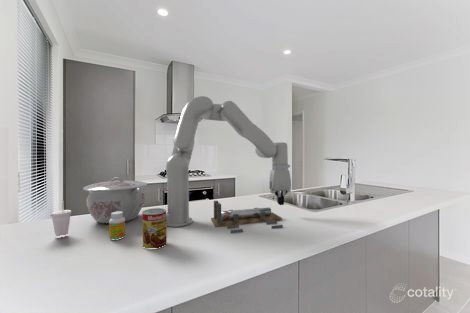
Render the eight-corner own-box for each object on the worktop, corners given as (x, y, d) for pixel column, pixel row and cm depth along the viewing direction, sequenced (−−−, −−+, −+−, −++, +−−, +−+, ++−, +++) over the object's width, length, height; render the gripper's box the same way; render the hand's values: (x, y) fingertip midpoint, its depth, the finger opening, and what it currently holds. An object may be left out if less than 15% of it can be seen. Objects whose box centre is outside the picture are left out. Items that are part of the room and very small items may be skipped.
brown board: (215, 227, 97) (215, 205, 97) (211, 220, 107) (211, 200, 106) (282, 220, 106) (282, 200, 106) (272, 214, 116) (272, 196, 116)
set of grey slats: (231, 233, 90) (231, 230, 90) (227, 228, 95) (227, 226, 95) (282, 227, 96) (282, 225, 96) (276, 223, 102) (276, 221, 102)
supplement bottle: (109, 242, 82) (108, 215, 81) (109, 237, 86) (109, 211, 86) (125, 239, 84) (125, 213, 84) (125, 234, 89) (124, 210, 89)
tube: (222, 220, 101) (222, 211, 101) (220, 219, 105) (220, 210, 105) (271, 216, 108) (271, 207, 108) (268, 215, 111) (267, 207, 112)
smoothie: (75, 234, 89) (75, 199, 89) (58, 240, 83) (57, 203, 83) (64, 232, 91) (63, 198, 91) (47, 238, 85) (46, 201, 85)
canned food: (152, 251, 73) (152, 215, 73) (137, 246, 78) (137, 212, 77) (171, 243, 80) (171, 210, 80) (156, 239, 84) (156, 207, 84)
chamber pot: (88, 216, 115) (87, 175, 115) (146, 209, 127) (145, 173, 126) (76, 234, 90) (75, 182, 89) (150, 224, 101) (149, 178, 101)
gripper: (289, 166, 117) (290, 201, 117) (263, 167, 112) (263, 204, 113) (297, 167, 109) (298, 204, 110) (269, 168, 105) (270, 207, 106)
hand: (280, 204), depth 111 cm, fingers closed
